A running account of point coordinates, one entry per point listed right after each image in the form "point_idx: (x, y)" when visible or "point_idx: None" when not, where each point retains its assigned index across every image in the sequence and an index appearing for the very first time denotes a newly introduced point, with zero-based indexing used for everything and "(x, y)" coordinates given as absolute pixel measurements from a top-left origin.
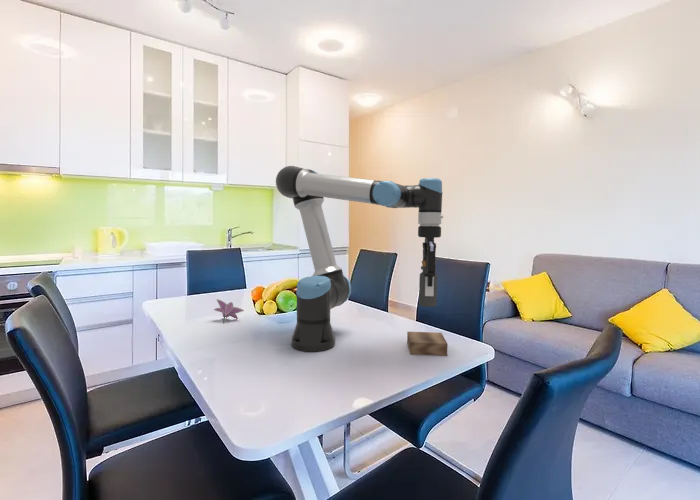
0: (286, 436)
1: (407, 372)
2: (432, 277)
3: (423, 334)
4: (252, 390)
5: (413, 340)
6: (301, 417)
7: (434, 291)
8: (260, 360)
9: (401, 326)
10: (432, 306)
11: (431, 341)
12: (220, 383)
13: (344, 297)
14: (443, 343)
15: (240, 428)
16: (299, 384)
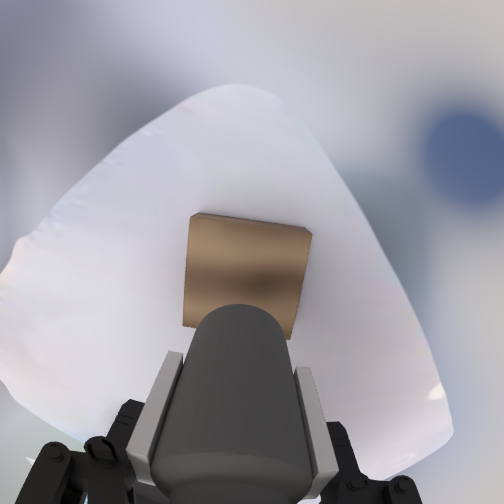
0: (452, 426)
1: (383, 340)
2: (359, 472)
3: (212, 285)
4: (369, 472)
5: None
6: (435, 428)
7: (291, 375)
8: None
9: (59, 287)
10: (283, 332)
11: (287, 278)
12: None
13: (139, 488)
14: (309, 246)
15: (427, 452)
16: (372, 451)
